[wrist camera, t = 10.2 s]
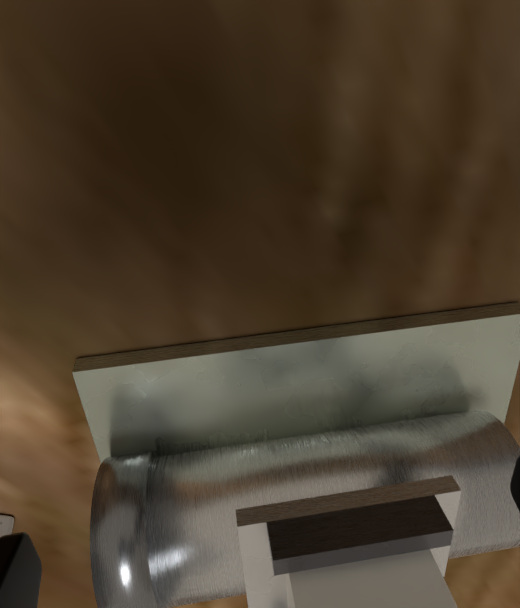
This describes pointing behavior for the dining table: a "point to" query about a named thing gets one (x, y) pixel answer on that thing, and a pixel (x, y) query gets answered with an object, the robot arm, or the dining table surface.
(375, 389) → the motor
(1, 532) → the supplement box
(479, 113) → the dining table surface
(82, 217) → the dining table surface
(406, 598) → the off-white cube
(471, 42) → the dining table surface
